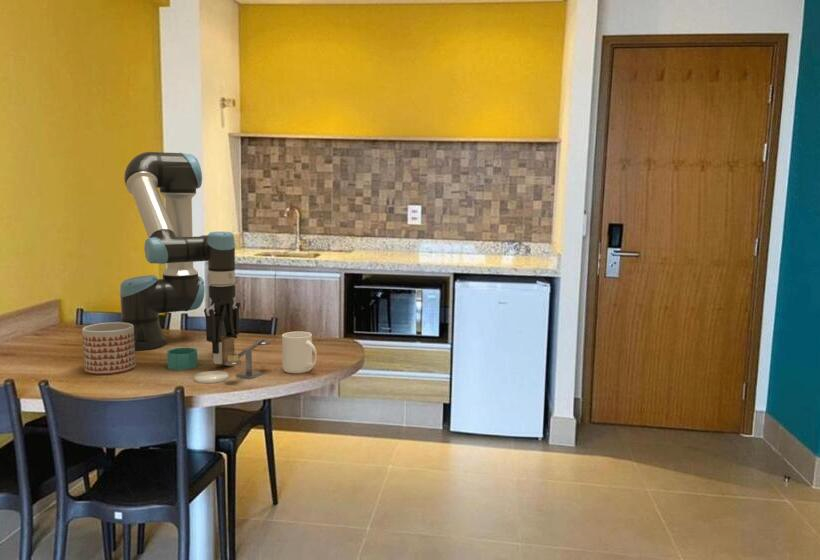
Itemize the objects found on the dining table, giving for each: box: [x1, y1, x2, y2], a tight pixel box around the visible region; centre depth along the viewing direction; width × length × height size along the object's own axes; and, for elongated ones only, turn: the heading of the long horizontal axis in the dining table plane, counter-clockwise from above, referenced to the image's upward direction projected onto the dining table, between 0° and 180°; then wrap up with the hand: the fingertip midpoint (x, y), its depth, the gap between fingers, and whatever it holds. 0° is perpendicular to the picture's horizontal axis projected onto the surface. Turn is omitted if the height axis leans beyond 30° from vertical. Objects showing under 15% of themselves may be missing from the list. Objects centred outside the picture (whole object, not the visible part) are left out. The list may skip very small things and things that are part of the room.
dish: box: [194, 370, 229, 384], centre depth 185 cm, size 9×9×1 cm
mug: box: [281, 331, 318, 374], centre depth 193 cm, size 9×12×11 cm
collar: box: [166, 347, 199, 371], centre depth 198 cm, size 8×8×5 cm
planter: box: [81, 321, 136, 376], centre depth 193 cm, size 14×14×13 cm
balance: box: [224, 338, 272, 380], centre depth 188 cm, size 5×18×9 cm, turn 156°
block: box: [212, 336, 236, 366], centre depth 197 cm, size 4×4×8 cm
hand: (223, 361), depth 197 cm, fingers closed on block, 4 cm apart
